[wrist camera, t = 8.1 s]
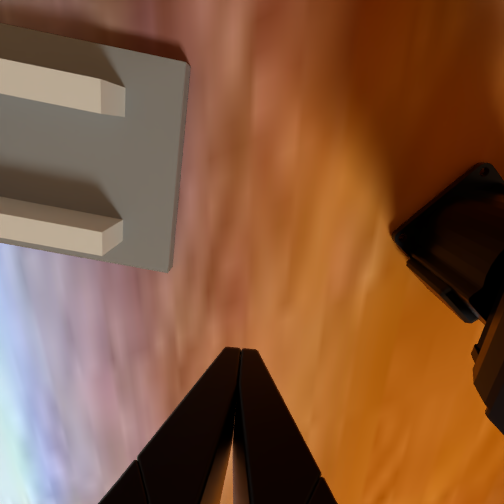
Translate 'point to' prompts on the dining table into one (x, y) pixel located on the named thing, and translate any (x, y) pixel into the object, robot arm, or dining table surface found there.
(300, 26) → the dining table surface
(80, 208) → the station
